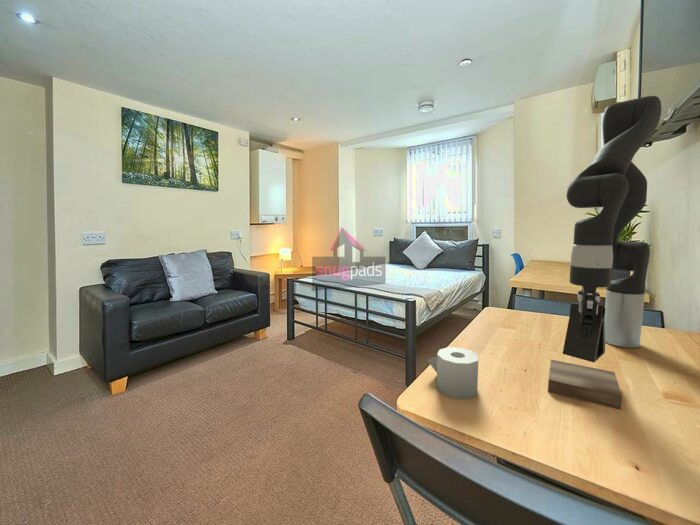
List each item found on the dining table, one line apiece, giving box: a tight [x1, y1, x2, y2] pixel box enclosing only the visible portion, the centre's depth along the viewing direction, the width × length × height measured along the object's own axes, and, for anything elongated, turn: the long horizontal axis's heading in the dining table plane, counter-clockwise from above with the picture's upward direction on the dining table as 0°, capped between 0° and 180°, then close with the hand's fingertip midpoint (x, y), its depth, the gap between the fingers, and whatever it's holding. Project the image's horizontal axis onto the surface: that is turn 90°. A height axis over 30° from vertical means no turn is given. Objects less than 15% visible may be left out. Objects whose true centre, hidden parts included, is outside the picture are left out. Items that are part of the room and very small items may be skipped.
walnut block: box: [547, 359, 623, 411], centre depth 73 cm, size 13×13×3 cm
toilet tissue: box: [426, 346, 479, 401], centre depth 74 cm, size 9×13×9 cm
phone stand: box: [562, 301, 606, 363], centre depth 71 cm, size 9×6×12 cm, turn 127°
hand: (585, 336), depth 72 cm, fingers closed on phone stand, 3 cm apart
